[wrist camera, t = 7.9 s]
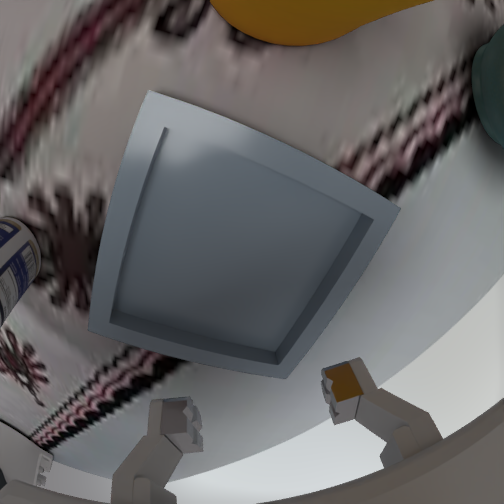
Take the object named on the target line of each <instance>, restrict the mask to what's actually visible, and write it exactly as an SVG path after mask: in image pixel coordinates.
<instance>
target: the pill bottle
mask: <svg viewBox="0 0 504 504" xmlns="http://www.w3.org/2000/svg"><path fill="white" fill-rule="evenodd" d="M40 266H41V254H40V249H39V246H38V243H37V241H36V239H35V237H34V235H33V234H32V232H31V231H30V230H29V229H28V228H27V227H26V226H25V225H24V224H23V223H22V222H20V221H19V220H17V219H14V218H10V217H5V218H1V219H0V328H1V326H2V325H3V323H4V321H5V320H6V318H7V317H8V315H9V314H10V312H11V311H12V309H13V308H14V306H15V305H16V304H17V302H18V301H19V299H20V298H21V297H22V295H23V294H24V292H25V291H26V290H27V288H28V287H29V286H30V284H31V283H32V282H33V280H34V279H35V278H36V276H37V275H38V273H39V270H40Z"/></svg>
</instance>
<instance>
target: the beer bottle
mask: <svg viewBox="0 0 504 504" xmlns="http://www.w3.org/2000/svg"><path fill="white" fill-rule="evenodd" d="M430 1H433V0H210V2H211V4H212V5H213V7H214V8H215V9H216V10H217V12H218V13H219V14H220V15H221V17H223V18H224V19H225V20H226V21H227V22H228V23H230V24H231V25H232V26H234V27H235V28H237V29H238V30H240V31H241V32H243V33H245V34H247V35H250V36H252V37H254V38H256V39H259V40H263V41H266V42H269V43H273V44H280V45H287V46H306V45H313V44H320V43H324V42H327V41H330V40H334V39H337V38H339V37H341V36H343V35H345V34H347V33H349V32H351V31H353V30H355V29H356V28H358V27H360V26H362V25H365V24H367V23H369V22H372V21H374V20H377V19H379V18H382V17H385V16H387V15H390V14H393V13H396V12H398V11H401V10H404V9H407V8H410V7H413V6H416V5H420V4H423V3H426V2H430Z"/></svg>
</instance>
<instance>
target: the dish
mask: <svg viewBox="0 0 504 504" xmlns="http://www.w3.org/2000/svg"><path fill="white" fill-rule="evenodd" d="M400 210H401V208H400V207H398V206H397V205H395V204H393V203H392V202H390V201H389V200H387V199H386V198H384V197H382V196H381V195H379V194H377V193H376V192H374V191H372V190H371V189H369V188H367V187H366V186H364V185H362V184H361V183H359V182H357V181H355V180H354V179H352V178H350V177H348V176H347V175H345V174H343V173H341V172H339V171H338V170H336V169H334V168H332V167H330V166H328V165H326V164H325V163H323V162H321V161H319V160H317V159H315V158H313V157H311V156H309V155H307V154H305V153H303V152H301V151H299V150H297V149H295V148H293V147H291V146H289V145H287V144H285V143H283V142H281V141H279V140H276V139H274V138H272V137H270V136H268V135H266V134H263V133H261V132H259V131H257V130H254V129H252V128H250V127H247V126H245V125H243V124H240V123H238V122H236V121H233V120H231V119H228V118H226V117H223V116H221V115H218V114H216V113H213V112H210V111H208V110H205V109H203V108H200V107H197V106H194V105H192V104H189V103H186V102H183V101H180V100H177V99H175V98H172V97H169V96H166V95H162V94H159V93H156V92H153V91H150V90H148V92H147V94H146V96H145V99H144V101H143V104H142V106H141V109H140V111H139V114H138V116H137V119H136V122H135V124H134V127H133V130H132V132H131V135H130V138H129V141H128V144H127V147H126V150H125V153H124V156H123V159H122V162H121V165H120V168H119V172H118V175H117V178H116V182H115V185H114V189H113V193H112V196H111V200H110V204H109V208H108V212H107V216H106V220H105V225H104V229H103V234H102V238H101V243H100V248H99V253H98V259H97V264H96V270H95V276H94V283H93V289H92V297H91V305H90V313H89V323H88V331H90V332H93V333H96V334H99V335H102V336H105V337H108V338H111V339H114V340H117V341H120V342H123V343H126V344H129V345H132V346H136V347H139V348H142V349H146V350H149V351H153V352H156V353H160V354H164V355H167V356H171V357H175V358H179V359H183V360H187V361H191V362H196V363H200V364H204V365H209V366H214V367H218V368H223V369H228V370H233V371H239V372H244V373H250V374H255V375H261V376H268V377H274V378H281V379H286V378H287V377H288V376H289V375H290V373H291V372H292V371H293V370H294V368H295V367H296V366H297V365H298V363H299V362H300V361H301V360H302V358H303V357H304V356H305V354H306V353H307V352H308V350H309V349H310V348H311V347H312V345H313V344H314V343H315V341H316V340H317V339H318V337H319V336H320V335H321V333H322V332H323V330H324V329H325V328H326V326H327V325H328V324H329V322H330V321H331V319H332V318H333V317H334V315H335V314H336V312H337V311H338V309H339V308H340V307H341V305H342V304H343V302H344V301H345V299H346V298H347V296H348V295H349V293H350V292H351V290H352V289H353V287H354V286H355V284H356V283H357V281H358V280H359V278H360V277H361V275H362V274H363V272H364V270H365V269H366V267H367V266H368V264H369V262H370V261H371V259H372V258H373V256H374V254H375V253H376V251H377V249H378V248H379V246H380V245H381V243H382V241H383V239H384V238H385V236H386V234H387V233H388V231H389V229H390V227H391V226H392V224H393V222H394V220H395V219H396V217H397V215H398V213H399V211H400Z"/></svg>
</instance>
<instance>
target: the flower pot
mask: <svg viewBox="0 0 504 504" xmlns="http://www.w3.org/2000/svg"><path fill="white" fill-rule="evenodd" d="M472 90H473V96H474V102H475V105H476V109H477V112H478V115H479V118H480V120H481V123H482V125H483V127H484V129H485V130H486V132H487V133H488V135H489V136H490V137H491V138H492V139H493V140H494V141H495V142H496V143H498V144H500V145H501V146H502V147H503V149H504V24H503V25H502V26H501V27H500V28H499V29H498V31H497V32H496V33H495V34H494V36H493V37H492V39H491V40H490V42H489V43H488V44H485V45H483V46H481V47H480V48H479V49H478V51H477V52H476V54H475V56H474V60H473V64H472Z"/></svg>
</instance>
